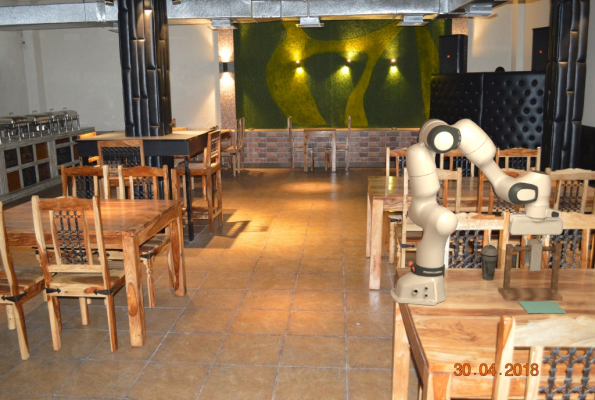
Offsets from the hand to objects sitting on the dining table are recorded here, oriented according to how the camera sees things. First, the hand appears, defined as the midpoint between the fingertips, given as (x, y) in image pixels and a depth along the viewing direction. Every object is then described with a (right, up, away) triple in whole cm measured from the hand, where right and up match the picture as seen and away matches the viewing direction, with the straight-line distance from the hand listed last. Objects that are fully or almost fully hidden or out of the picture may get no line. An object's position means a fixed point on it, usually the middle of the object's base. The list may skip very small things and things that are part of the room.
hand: (533, 245), depth 214 cm
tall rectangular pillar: (0, -9, +2) cm, 10 cm away
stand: (0, -21, +5) cm, 22 cm away
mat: (0, -24, -7) cm, 25 cm away
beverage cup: (-10, -17, +24) cm, 31 cm away
